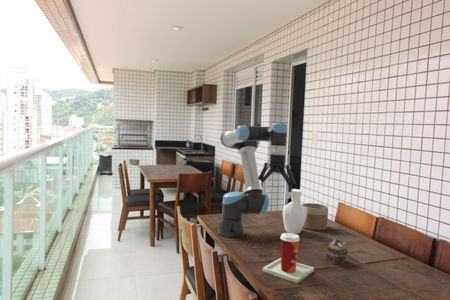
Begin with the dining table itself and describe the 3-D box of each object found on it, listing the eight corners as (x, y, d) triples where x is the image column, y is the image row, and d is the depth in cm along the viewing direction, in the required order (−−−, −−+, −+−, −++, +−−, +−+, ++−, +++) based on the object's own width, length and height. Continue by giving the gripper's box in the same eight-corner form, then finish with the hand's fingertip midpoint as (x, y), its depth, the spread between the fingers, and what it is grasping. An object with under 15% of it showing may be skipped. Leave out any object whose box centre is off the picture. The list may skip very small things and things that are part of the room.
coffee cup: (298, 275, 139) (300, 239, 139) (278, 272, 141) (280, 237, 140) (298, 267, 148) (300, 233, 147) (278, 265, 149) (280, 231, 148)
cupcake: (327, 256, 165) (328, 235, 164) (348, 260, 160) (349, 239, 160) (322, 262, 156) (324, 241, 156) (345, 267, 152) (346, 245, 151)
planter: (329, 227, 217) (331, 205, 216) (322, 232, 203) (324, 210, 202) (305, 222, 225) (307, 202, 224) (297, 227, 212) (298, 206, 211)
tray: (262, 271, 143) (262, 267, 143) (280, 261, 156) (280, 257, 155) (297, 283, 133) (297, 279, 133) (313, 271, 146) (314, 267, 146)
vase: (291, 236, 193) (294, 192, 192) (276, 229, 206) (279, 188, 205) (310, 233, 200) (313, 191, 199) (295, 227, 213) (297, 187, 211)
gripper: (252, 152, 174) (250, 193, 175) (297, 156, 158) (295, 201, 160) (260, 152, 180) (258, 191, 181) (304, 155, 164) (302, 199, 166)
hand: (275, 196), depth 170 cm, fingers open, 13 cm apart
